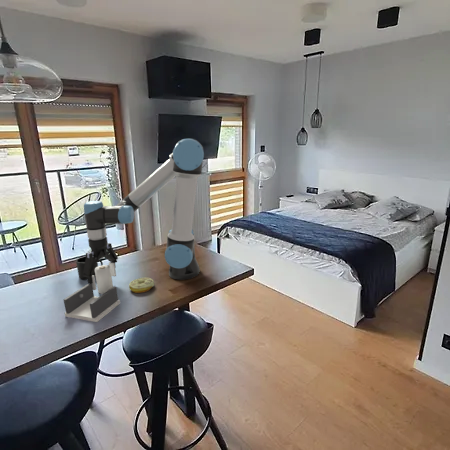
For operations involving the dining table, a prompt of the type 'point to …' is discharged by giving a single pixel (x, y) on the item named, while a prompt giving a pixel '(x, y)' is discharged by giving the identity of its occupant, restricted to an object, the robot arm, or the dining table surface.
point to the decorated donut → (141, 285)
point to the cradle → (90, 304)
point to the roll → (103, 278)
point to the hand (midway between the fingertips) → (103, 282)
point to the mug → (80, 267)
